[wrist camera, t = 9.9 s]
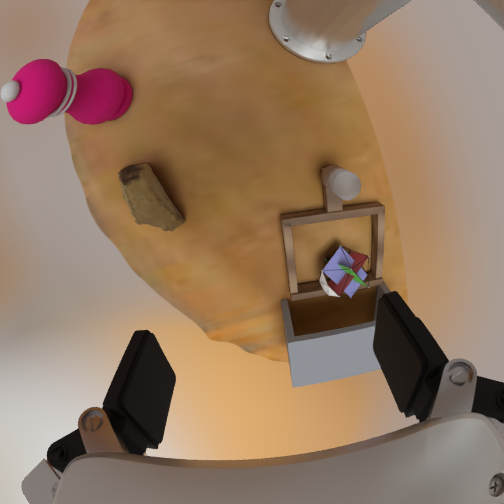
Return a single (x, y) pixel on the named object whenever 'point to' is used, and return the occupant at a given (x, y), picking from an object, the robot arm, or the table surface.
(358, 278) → the geometric puzzle
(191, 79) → the table surface
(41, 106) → the pepper mill
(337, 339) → the open box
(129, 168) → the rock
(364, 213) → the brown open frame
